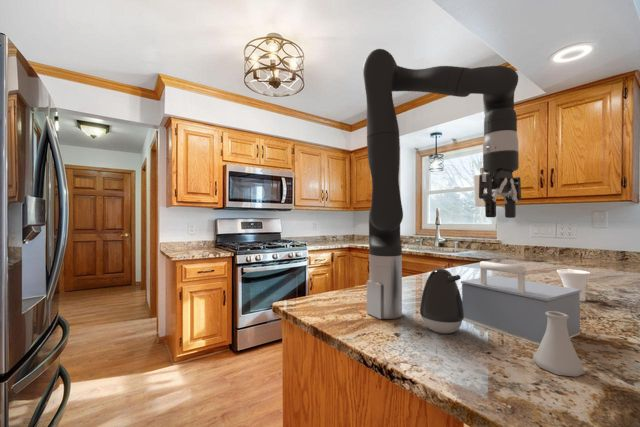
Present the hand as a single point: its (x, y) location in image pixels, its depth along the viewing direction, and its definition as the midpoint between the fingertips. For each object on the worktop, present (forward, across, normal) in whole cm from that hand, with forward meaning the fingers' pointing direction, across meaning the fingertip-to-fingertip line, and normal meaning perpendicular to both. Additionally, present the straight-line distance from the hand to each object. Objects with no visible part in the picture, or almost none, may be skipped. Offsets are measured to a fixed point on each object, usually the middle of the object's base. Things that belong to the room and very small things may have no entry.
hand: (500, 217), depth 73 cm
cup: (+28, +52, +4) cm, 60 cm away
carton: (+28, +7, 0) cm, 29 cm away
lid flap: (+18, +7, 0) cm, 19 cm away
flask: (+28, -9, -15) cm, 33 cm away
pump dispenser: (+28, -12, +8) cm, 32 cm away
